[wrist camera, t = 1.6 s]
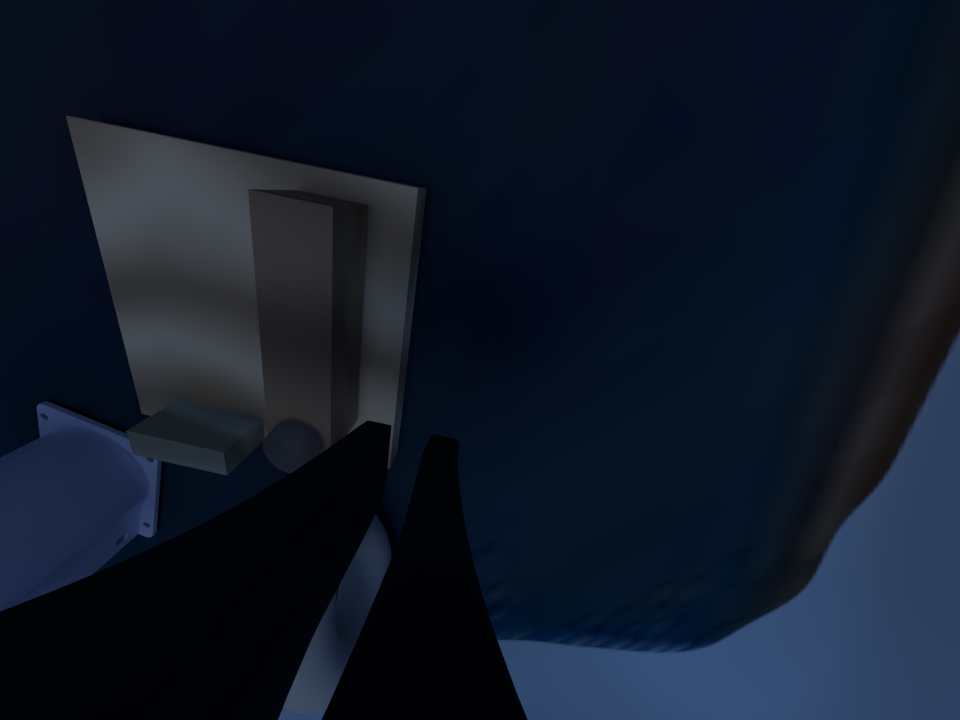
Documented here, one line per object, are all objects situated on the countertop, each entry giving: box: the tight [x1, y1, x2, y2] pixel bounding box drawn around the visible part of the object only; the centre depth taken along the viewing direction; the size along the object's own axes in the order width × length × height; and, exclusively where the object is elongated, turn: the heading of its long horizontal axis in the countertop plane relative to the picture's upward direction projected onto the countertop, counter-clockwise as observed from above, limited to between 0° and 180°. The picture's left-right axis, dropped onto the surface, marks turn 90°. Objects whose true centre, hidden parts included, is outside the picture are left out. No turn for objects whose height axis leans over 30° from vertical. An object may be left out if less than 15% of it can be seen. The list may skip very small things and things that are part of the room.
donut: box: [284, 513, 391, 715], centre depth 21 cm, size 10×4×10 cm, turn 11°
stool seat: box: [66, 116, 427, 475], centre depth 18 cm, size 15×15×4 cm
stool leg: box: [248, 189, 367, 473], centre depth 16 cm, size 12×3×4 cm, turn 169°
